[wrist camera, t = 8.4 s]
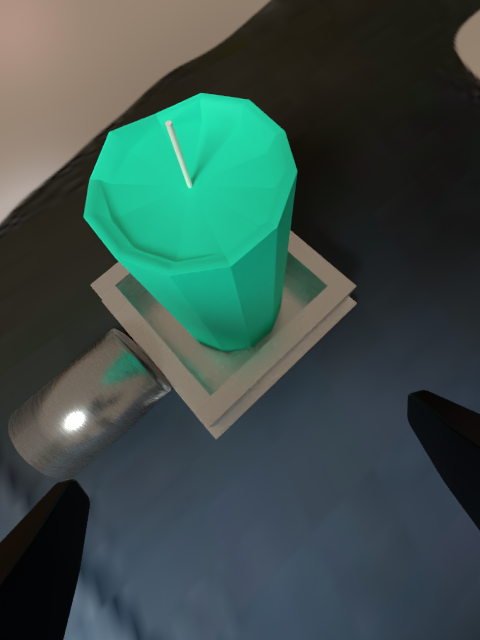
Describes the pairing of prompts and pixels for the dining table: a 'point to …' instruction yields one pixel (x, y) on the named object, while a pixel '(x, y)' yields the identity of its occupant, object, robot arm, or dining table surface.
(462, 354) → the dining table surface
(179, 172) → the candle
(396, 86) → the dining table surface
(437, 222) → the dining table surface
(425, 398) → the robot arm
